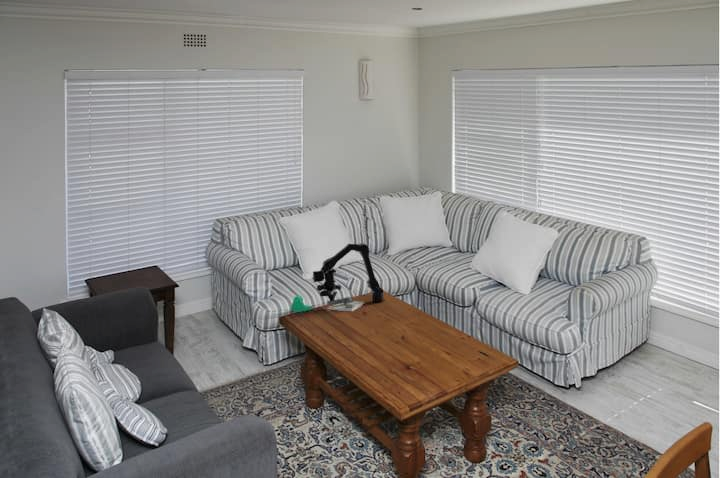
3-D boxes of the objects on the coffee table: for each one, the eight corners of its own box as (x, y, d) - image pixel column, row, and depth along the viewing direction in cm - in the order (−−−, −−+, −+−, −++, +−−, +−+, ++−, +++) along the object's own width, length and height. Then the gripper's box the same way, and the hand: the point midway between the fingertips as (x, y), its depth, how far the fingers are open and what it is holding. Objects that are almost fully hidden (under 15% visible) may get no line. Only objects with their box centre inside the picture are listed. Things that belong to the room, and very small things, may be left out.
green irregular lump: (312, 310, 389) (311, 294, 387) (304, 313, 383) (303, 297, 382) (299, 308, 396) (297, 293, 395) (291, 311, 390) (289, 295, 389)
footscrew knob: (350, 302, 393) (350, 296, 392) (354, 303, 388) (353, 298, 387) (326, 306, 387) (326, 300, 386) (329, 308, 382) (328, 302, 381)
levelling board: (364, 303, 392) (363, 297, 392) (352, 311, 376) (351, 304, 376) (339, 303, 400) (339, 296, 399) (326, 310, 384) (326, 303, 383)
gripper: (325, 276, 398) (328, 299, 400) (311, 283, 381) (314, 307, 383) (340, 276, 393) (342, 299, 395) (326, 283, 376) (329, 307, 378)
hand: (332, 303), depth 388 cm, fingers closed
